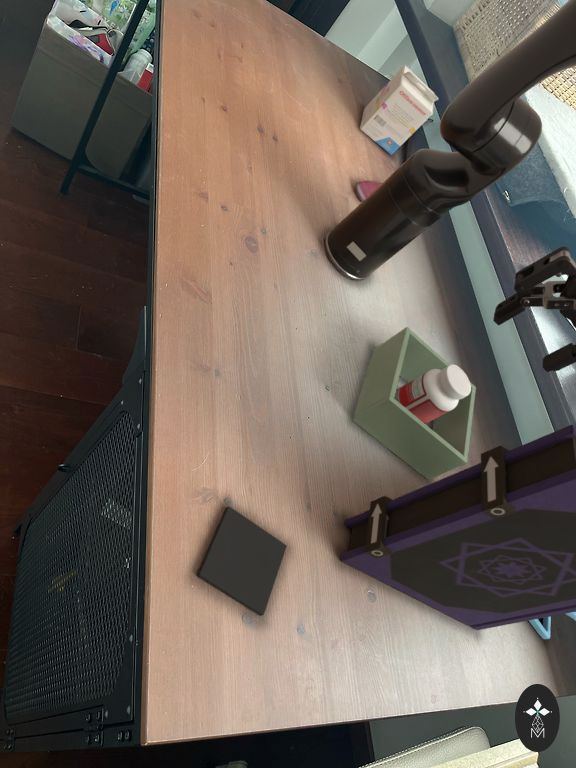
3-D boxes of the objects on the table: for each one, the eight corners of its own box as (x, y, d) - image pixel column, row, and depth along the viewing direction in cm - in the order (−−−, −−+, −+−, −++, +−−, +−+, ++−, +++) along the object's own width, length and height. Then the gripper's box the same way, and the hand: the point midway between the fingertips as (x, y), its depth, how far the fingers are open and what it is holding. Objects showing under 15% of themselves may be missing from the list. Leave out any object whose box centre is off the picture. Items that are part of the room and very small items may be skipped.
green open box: (373, 349, 92) (407, 326, 87) (440, 406, 96) (476, 387, 91) (352, 420, 82) (388, 399, 78) (427, 480, 86) (467, 463, 82)
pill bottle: (421, 426, 91) (481, 395, 83) (398, 437, 87) (459, 406, 79) (401, 389, 92) (458, 355, 84) (377, 398, 88) (436, 363, 80)
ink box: (393, 135, 129) (442, 86, 120) (390, 156, 124) (441, 107, 114) (363, 108, 126) (411, 56, 117) (358, 128, 120) (408, 76, 111)
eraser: (360, 204, 108) (367, 197, 107) (351, 184, 109) (358, 178, 108) (399, 208, 116) (406, 202, 115) (391, 190, 117) (397, 184, 116)
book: (475, 586, 83) (713, 526, 62) (476, 633, 79) (729, 587, 58) (342, 513, 74) (568, 416, 53) (335, 563, 70) (576, 478, 50)
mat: (225, 507, 65) (228, 505, 64) (283, 546, 67) (287, 545, 66) (196, 576, 59) (199, 574, 59) (260, 616, 61) (263, 615, 61)
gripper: (700, 289, 64) (559, 359, 75) (617, 193, 60) (481, 282, 71) (712, 334, 59) (559, 402, 70) (621, 234, 55) (475, 323, 66)
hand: (520, 342), depth 70 cm, fingers open, 8 cm apart
